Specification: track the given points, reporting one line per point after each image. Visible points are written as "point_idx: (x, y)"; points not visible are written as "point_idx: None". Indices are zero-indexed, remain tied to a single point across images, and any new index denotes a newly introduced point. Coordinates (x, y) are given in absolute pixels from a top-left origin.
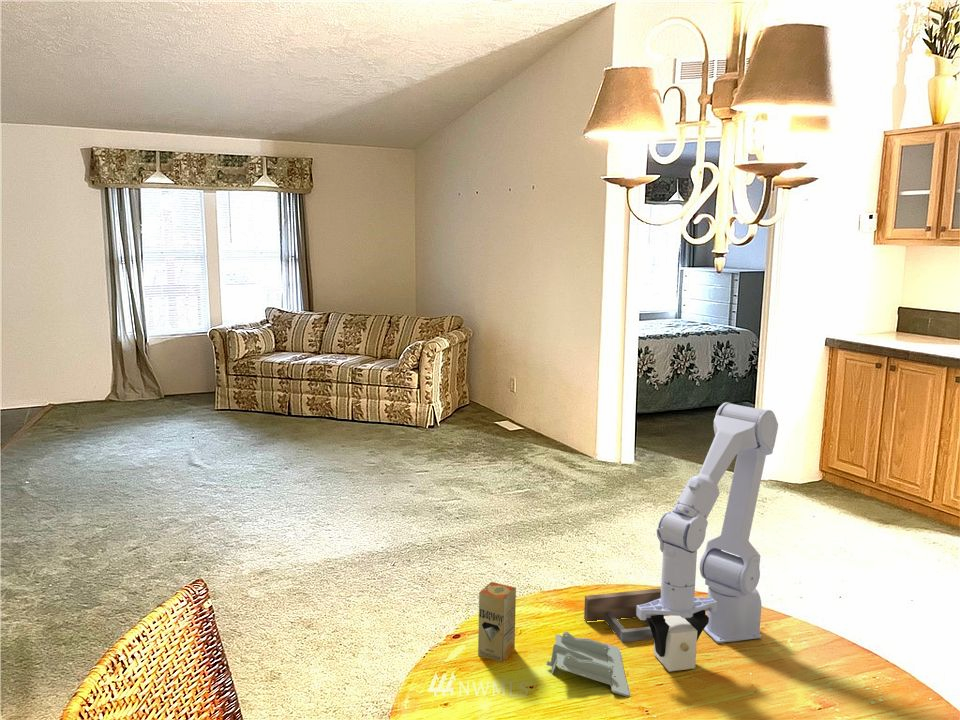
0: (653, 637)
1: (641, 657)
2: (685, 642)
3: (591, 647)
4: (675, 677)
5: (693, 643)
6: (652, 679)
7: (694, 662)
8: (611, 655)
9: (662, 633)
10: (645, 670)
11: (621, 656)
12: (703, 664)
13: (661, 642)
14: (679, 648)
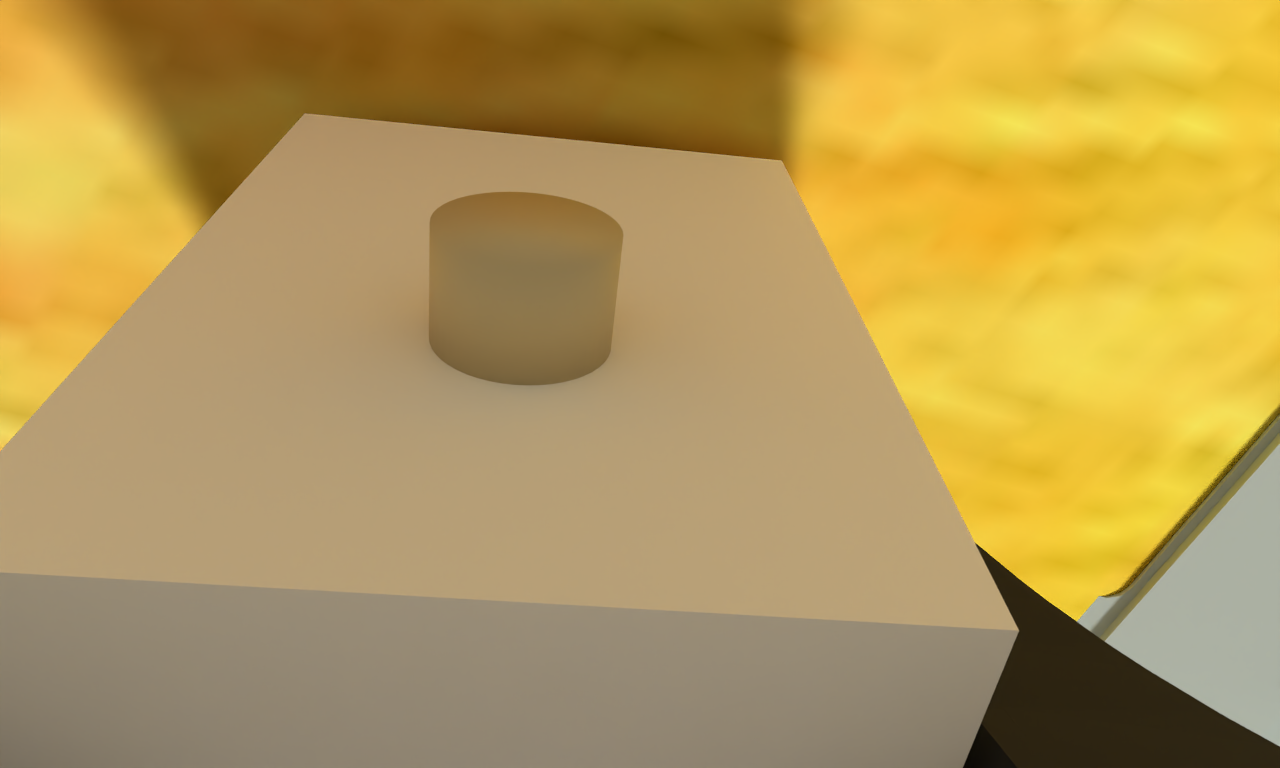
0: None
1: None
2: (461, 377)
3: None
4: (748, 15)
5: (219, 327)
6: (1122, 85)
7: (297, 147)
8: (1259, 654)
9: (1136, 731)
10: (1036, 317)
11: None
12: (98, 202)
13: (984, 559)
14: (633, 318)
